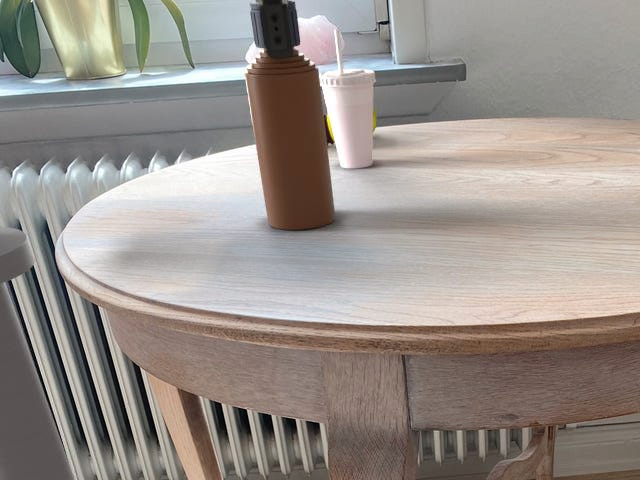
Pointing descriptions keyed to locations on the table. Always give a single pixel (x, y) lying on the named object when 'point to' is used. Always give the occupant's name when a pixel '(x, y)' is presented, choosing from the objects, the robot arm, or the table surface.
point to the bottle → (290, 140)
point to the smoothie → (350, 111)
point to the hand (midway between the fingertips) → (281, 53)
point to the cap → (258, 24)
